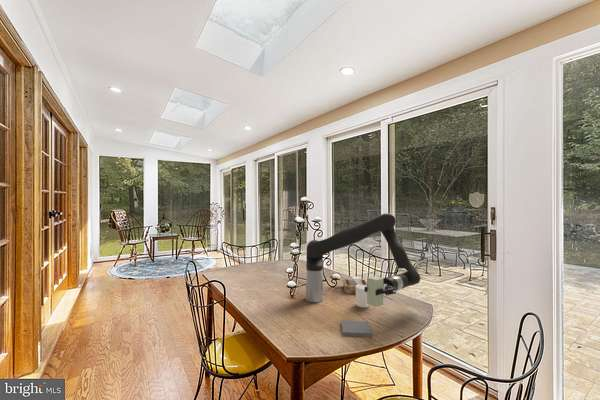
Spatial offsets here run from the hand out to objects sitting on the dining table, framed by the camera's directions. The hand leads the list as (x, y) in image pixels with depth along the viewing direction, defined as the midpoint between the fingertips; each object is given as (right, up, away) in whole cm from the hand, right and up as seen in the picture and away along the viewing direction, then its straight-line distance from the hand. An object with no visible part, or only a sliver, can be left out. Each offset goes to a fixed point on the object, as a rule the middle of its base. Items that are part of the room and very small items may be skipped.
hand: (370, 291), depth 137 cm
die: (+3, -15, +52) cm, 54 cm away
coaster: (-7, -16, -3) cm, 18 cm away
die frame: (+3, -15, +52) cm, 54 cm away
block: (+3, -7, +2) cm, 7 cm away
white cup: (+2, -16, +26) cm, 30 cm away
